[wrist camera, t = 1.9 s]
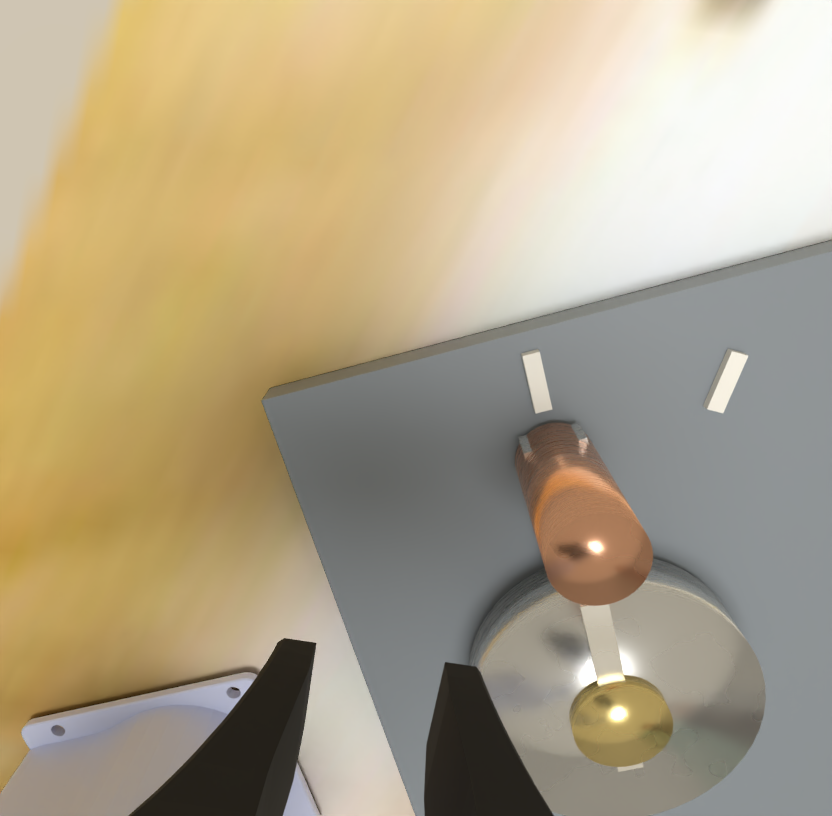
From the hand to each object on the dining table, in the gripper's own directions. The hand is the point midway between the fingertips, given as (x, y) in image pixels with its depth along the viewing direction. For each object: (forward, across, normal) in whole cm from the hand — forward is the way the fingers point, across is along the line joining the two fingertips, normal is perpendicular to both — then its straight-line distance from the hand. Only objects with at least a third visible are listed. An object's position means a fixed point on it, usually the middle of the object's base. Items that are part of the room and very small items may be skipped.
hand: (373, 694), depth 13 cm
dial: (+8, -7, +3) cm, 11 cm away
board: (+10, -9, +4) cm, 14 cm away
